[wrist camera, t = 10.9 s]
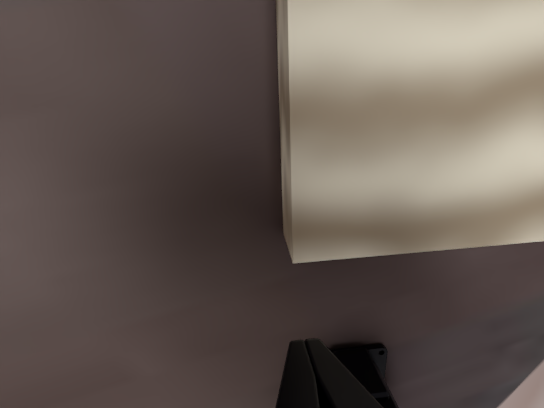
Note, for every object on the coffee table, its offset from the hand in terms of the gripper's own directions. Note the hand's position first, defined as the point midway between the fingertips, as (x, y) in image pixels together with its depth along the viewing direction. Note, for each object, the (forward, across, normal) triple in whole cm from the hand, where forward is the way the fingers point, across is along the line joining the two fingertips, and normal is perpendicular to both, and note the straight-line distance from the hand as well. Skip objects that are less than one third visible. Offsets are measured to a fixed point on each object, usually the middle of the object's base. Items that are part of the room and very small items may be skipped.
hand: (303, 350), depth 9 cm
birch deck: (+12, -9, -6) cm, 16 cm away
